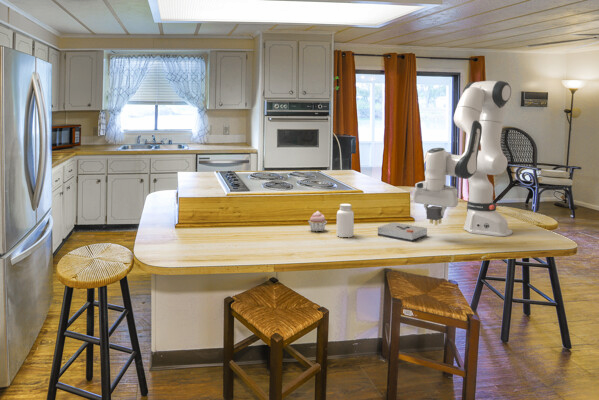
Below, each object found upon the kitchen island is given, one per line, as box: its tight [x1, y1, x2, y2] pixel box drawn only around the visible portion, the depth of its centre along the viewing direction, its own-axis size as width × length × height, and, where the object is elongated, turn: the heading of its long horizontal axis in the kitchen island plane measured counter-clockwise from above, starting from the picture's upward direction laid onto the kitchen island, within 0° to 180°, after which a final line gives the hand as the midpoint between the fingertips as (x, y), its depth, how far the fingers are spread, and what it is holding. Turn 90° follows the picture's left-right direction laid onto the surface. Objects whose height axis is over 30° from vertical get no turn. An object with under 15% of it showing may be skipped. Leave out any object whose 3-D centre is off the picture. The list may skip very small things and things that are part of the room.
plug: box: [426, 205, 444, 226], centre depth 220 cm, size 5×6×8 cm
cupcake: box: [307, 210, 328, 232], centre depth 237 cm, size 9×9×10 cm
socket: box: [377, 222, 428, 243], centre depth 228 cm, size 18×14×5 cm
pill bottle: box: [336, 203, 355, 238], centre depth 227 cm, size 8×8×15 cm
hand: (434, 214), depth 220 cm, fingers closed on plug, 5 cm apart
